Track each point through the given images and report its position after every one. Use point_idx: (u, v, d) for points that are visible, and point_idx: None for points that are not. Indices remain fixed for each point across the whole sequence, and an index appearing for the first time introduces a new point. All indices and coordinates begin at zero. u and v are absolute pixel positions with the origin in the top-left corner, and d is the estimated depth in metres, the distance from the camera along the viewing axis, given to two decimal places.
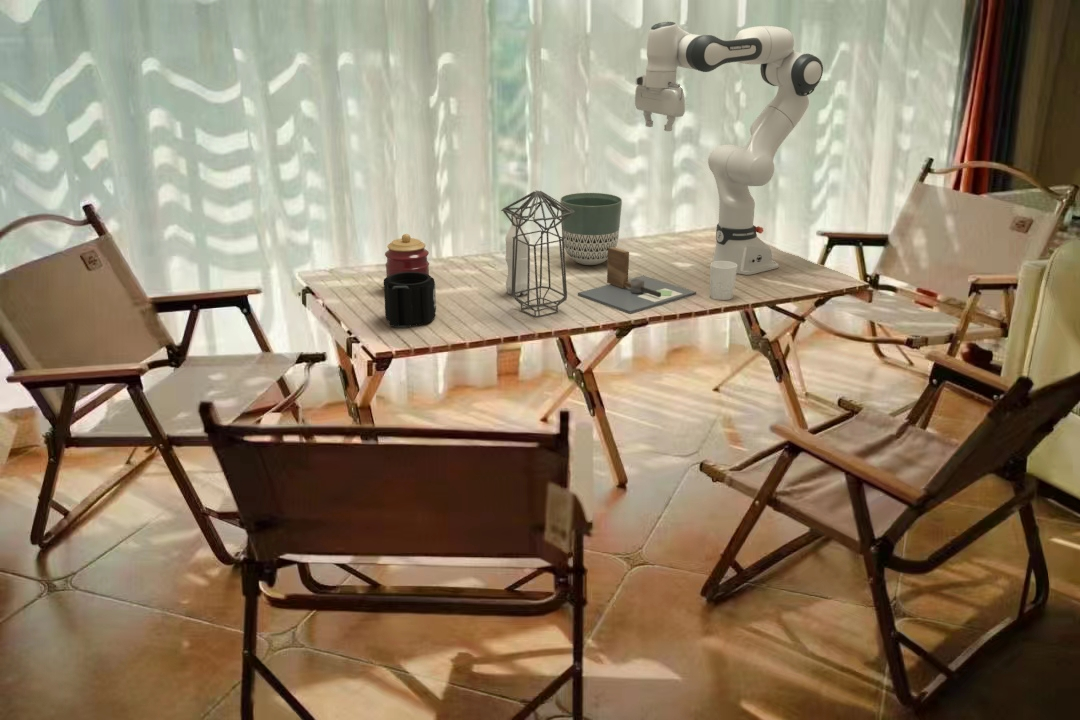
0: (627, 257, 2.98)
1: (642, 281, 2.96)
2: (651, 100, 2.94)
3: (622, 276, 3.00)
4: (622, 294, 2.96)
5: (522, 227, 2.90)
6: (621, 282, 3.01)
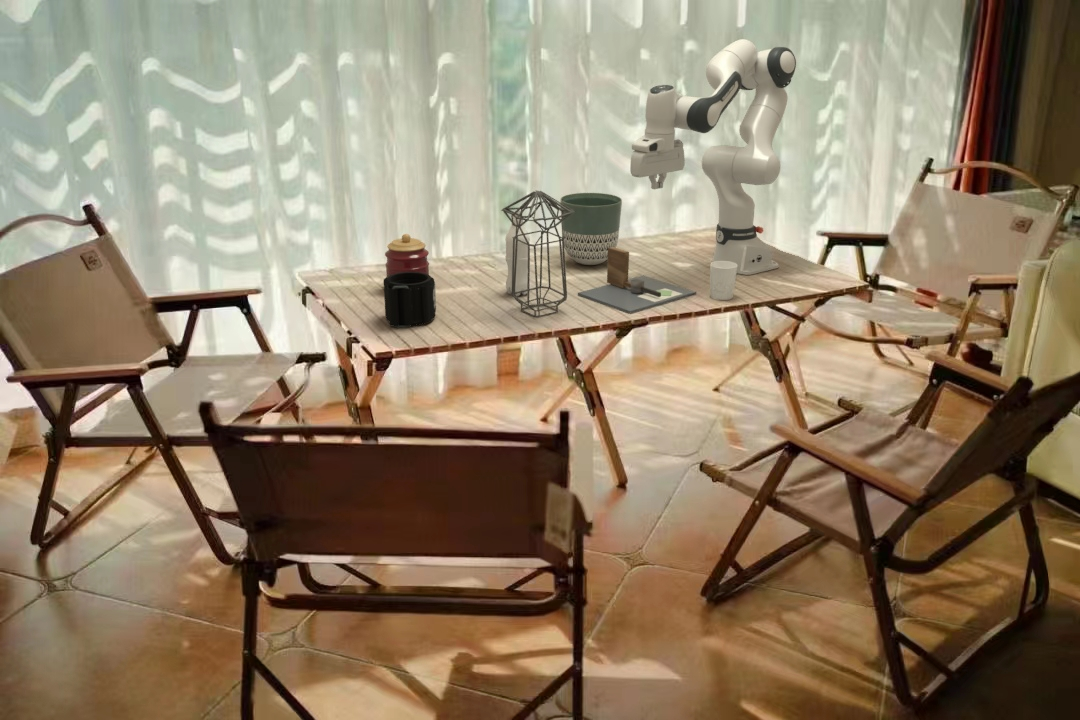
0: (627, 257, 2.98)
1: (642, 281, 2.96)
2: (658, 163, 2.96)
3: (622, 276, 3.00)
4: (622, 294, 2.96)
5: (522, 227, 2.90)
6: (621, 282, 3.01)
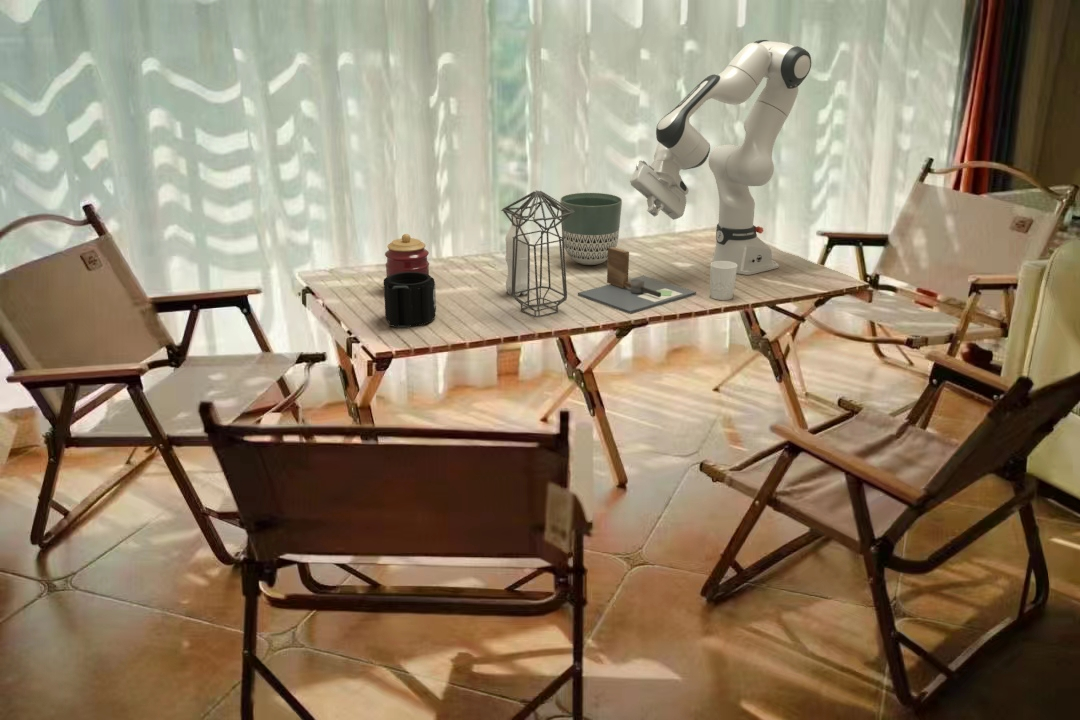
0: (627, 257, 2.98)
1: (642, 281, 2.96)
2: None
3: (622, 276, 3.00)
4: (622, 294, 2.96)
5: (522, 227, 2.90)
6: (621, 282, 3.01)
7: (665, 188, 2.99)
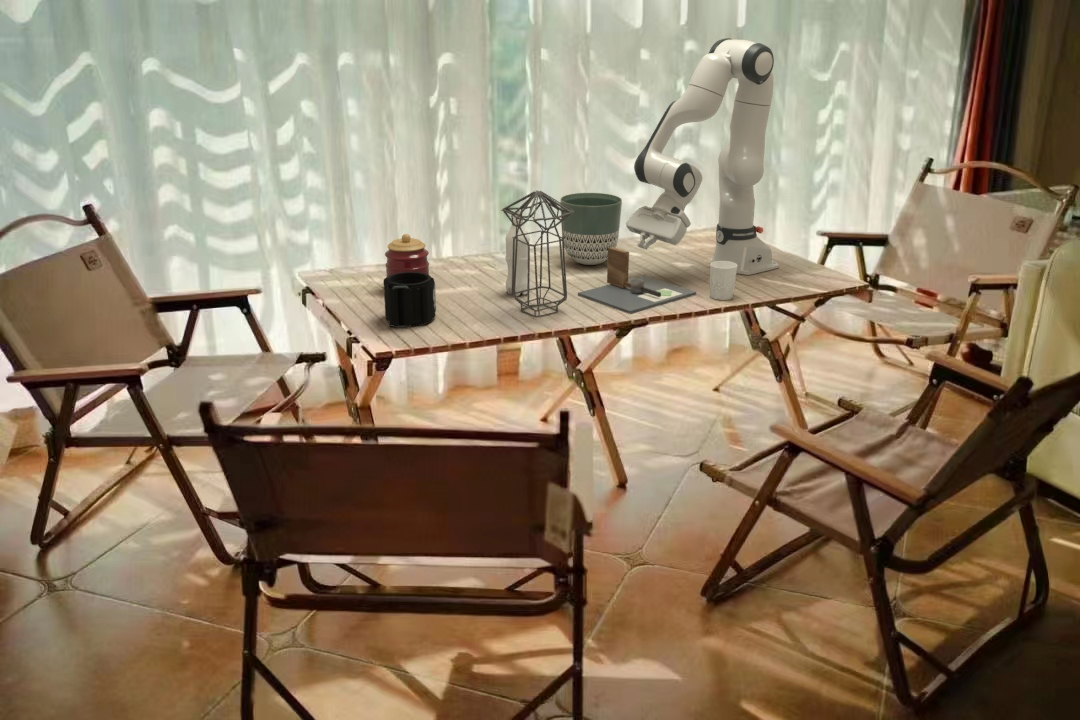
0: (627, 257, 2.98)
1: (642, 281, 2.96)
2: None
3: (622, 276, 3.00)
4: (622, 294, 2.96)
5: (522, 227, 2.90)
6: (621, 282, 3.01)
7: (659, 220, 3.04)
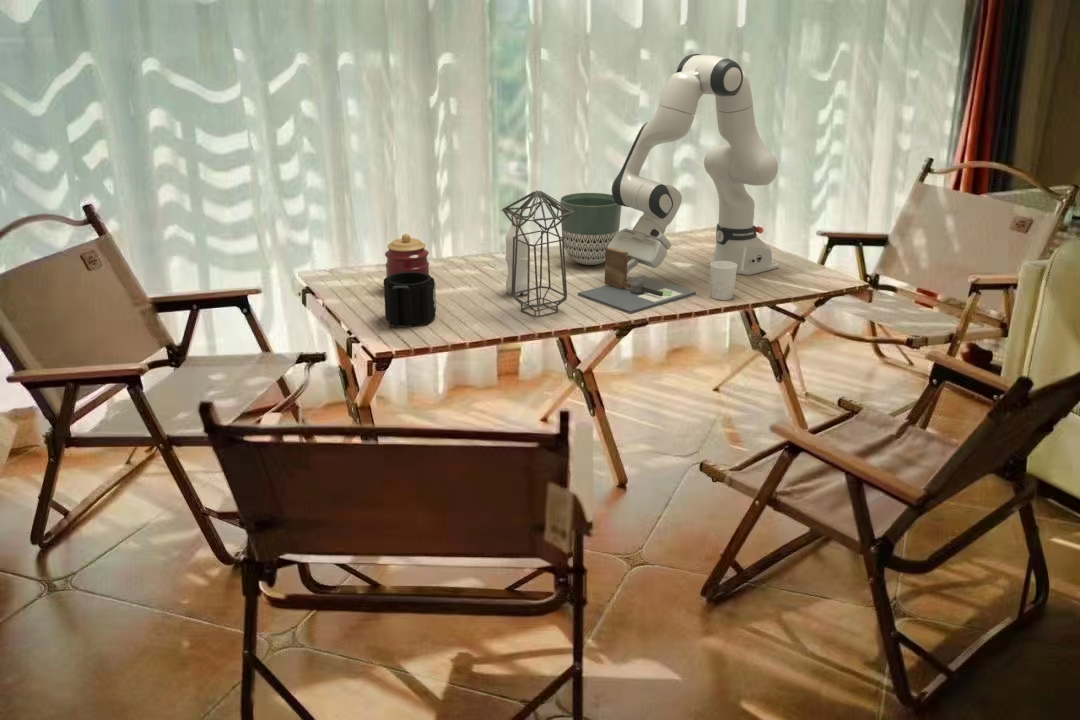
0: (626, 257, 2.98)
1: (642, 281, 2.97)
2: None
3: (621, 276, 2.99)
4: (622, 294, 2.96)
5: (522, 227, 2.90)
6: (619, 283, 3.01)
7: (639, 243, 3.02)
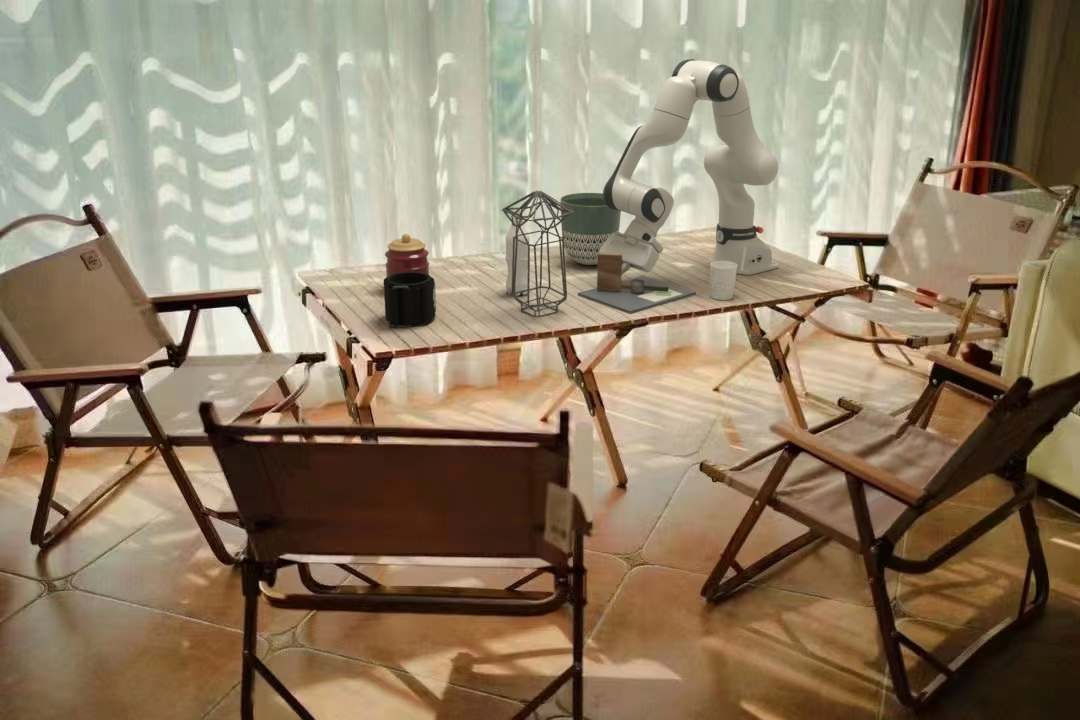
0: (621, 259, 2.96)
1: (641, 280, 2.97)
2: None
3: (619, 279, 2.97)
4: (622, 294, 2.96)
5: (522, 227, 2.90)
6: (617, 286, 2.97)
7: (631, 247, 2.99)
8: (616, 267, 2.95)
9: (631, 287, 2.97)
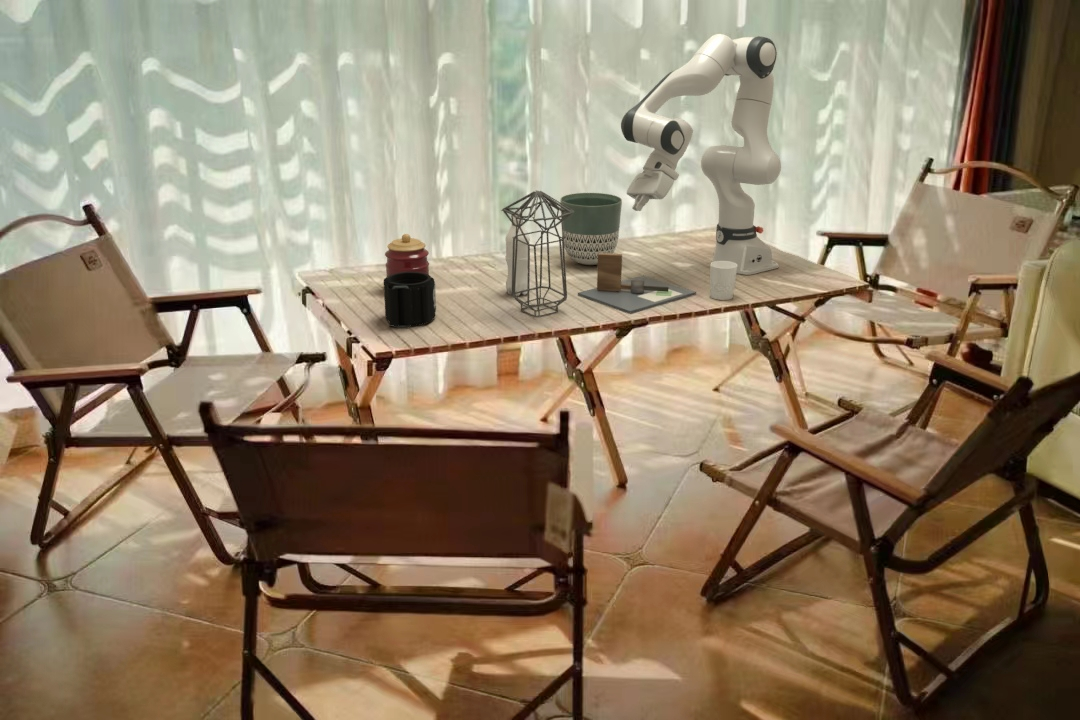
0: (621, 259, 2.96)
1: (641, 280, 2.97)
2: None
3: (619, 279, 2.97)
4: (622, 294, 2.96)
5: (522, 227, 2.90)
6: (617, 286, 2.97)
7: (649, 179, 2.99)
8: (616, 267, 2.95)
9: (631, 287, 2.97)
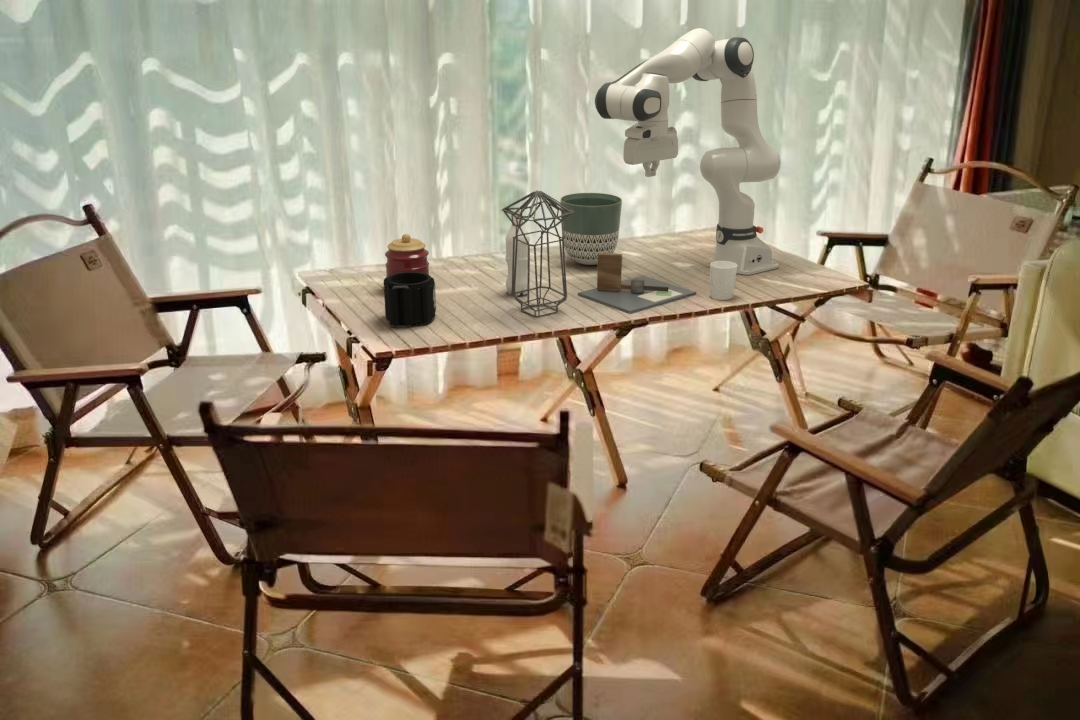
0: (621, 259, 2.96)
1: (641, 280, 2.97)
2: (651, 150, 2.93)
3: (619, 279, 2.97)
4: (622, 294, 2.96)
5: (522, 227, 2.90)
6: (617, 286, 2.97)
7: None
8: (616, 267, 2.95)
9: (631, 287, 2.97)
